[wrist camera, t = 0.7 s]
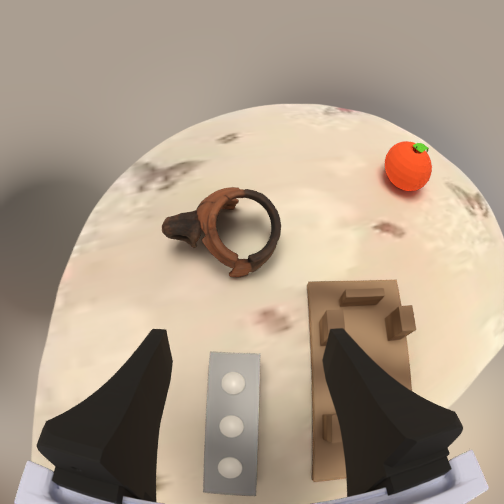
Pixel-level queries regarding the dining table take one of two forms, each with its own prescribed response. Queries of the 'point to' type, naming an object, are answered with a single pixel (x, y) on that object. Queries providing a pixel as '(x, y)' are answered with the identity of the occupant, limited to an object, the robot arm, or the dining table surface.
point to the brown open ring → (205, 219)
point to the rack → (367, 337)
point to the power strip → (232, 424)
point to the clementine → (408, 165)
